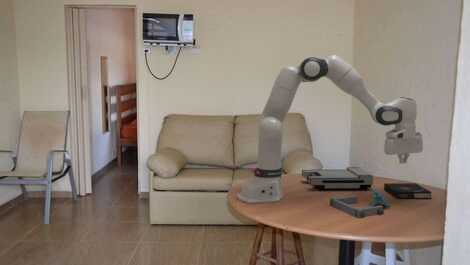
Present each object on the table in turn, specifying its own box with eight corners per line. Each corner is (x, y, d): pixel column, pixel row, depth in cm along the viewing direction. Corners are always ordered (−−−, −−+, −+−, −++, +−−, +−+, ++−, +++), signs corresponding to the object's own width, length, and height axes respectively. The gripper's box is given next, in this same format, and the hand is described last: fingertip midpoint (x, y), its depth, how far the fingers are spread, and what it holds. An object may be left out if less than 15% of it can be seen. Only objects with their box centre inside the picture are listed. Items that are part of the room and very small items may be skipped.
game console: (301, 182, 237) (302, 167, 236) (358, 181, 239) (358, 167, 238) (310, 192, 216) (311, 176, 215) (372, 191, 218) (373, 175, 217)
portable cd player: (397, 200, 203) (397, 192, 203) (383, 190, 220) (384, 183, 220) (431, 200, 204) (431, 192, 203) (415, 190, 221) (415, 183, 220)
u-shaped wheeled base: (359, 218, 175) (359, 211, 175) (329, 204, 194) (329, 198, 193) (384, 214, 181) (384, 207, 180) (353, 201, 199) (353, 195, 199)
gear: (393, 206, 186) (376, 189, 187) (383, 215, 187) (366, 198, 187) (386, 202, 197) (371, 186, 198) (377, 211, 198) (361, 195, 198)
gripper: (416, 131, 200) (414, 160, 202) (382, 133, 192) (381, 163, 194) (427, 132, 195) (425, 162, 196) (392, 135, 186) (391, 166, 188)
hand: (403, 163), depth 195 cm, fingers closed
